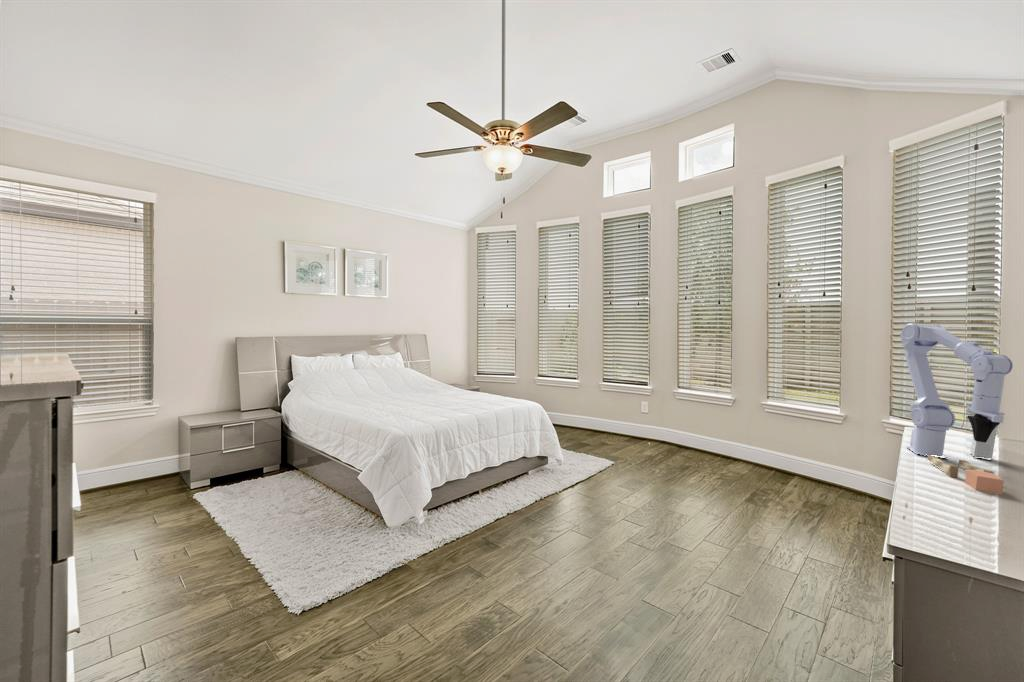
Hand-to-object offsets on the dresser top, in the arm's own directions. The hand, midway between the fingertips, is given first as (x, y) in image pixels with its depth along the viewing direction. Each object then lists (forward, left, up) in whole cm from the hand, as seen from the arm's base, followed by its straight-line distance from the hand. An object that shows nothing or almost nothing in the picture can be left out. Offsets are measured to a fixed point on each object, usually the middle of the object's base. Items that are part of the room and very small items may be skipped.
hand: (980, 441), depth 130 cm
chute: (+2, -5, -9) cm, 11 cm away
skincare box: (-22, +10, -10) cm, 26 cm away
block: (+16, -5, -10) cm, 20 cm away
